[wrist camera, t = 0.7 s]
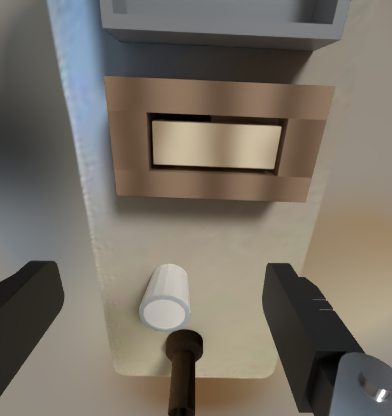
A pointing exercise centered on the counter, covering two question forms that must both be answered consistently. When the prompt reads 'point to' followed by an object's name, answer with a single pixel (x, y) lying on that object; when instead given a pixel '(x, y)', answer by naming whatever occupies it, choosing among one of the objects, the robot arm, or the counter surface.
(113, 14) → the charcoal tray
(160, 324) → the white cup
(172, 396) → the brown wooden tall figure
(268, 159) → the maple bar
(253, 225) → the counter surface
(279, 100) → the walnut pocket board
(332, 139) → the counter surface
